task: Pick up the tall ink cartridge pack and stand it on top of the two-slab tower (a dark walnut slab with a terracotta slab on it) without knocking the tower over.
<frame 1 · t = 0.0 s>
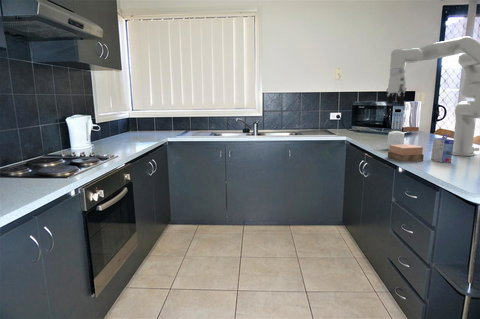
hand: (394, 103, 177), 31 cm above the table, tool pointing down, fingers open, 9 cm apart
tower top: (405, 153, 177), point 3 cm above the table, touching tower base
ink cartridge box: (440, 161, 171), on the table
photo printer: (394, 149, 210), on the table
tower base: (404, 159, 178), on the table, touching tower top
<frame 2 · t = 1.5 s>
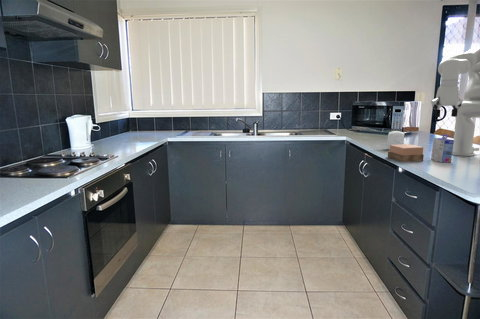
hand: (445, 116, 166), 24 cm above the table, tool pointing down, fingers open, 9 cm apart
nothing on the table moved.
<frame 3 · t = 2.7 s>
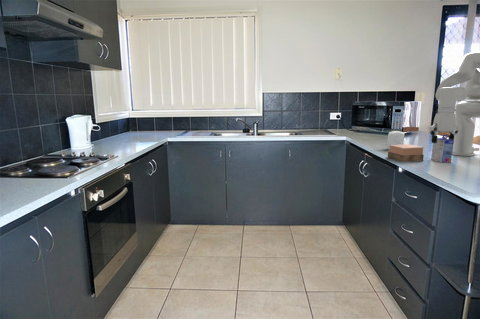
hand: (442, 142, 168), 10 cm above the table, tool pointing down, fingers open, 9 cm apart
nothing on the table moved.
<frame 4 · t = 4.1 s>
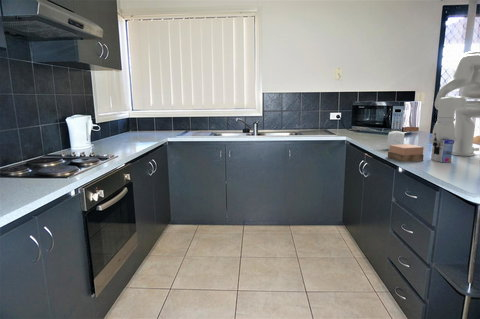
hand: (441, 153, 170), 4 cm above the table, tool pointing down, fingers closed on ink cartridge box, 5 cm apart
ink cartridge box: (440, 161, 171), on the table, touching gripper
everything else where it was.
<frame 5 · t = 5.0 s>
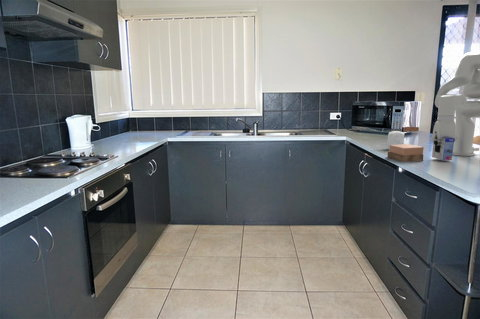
hand: (442, 151, 170), 5 cm above the table, tool pointing down, fingers closed on ink cartridge box, 5 cm apart
tower top: (405, 153, 177), point 3 cm above the table
ink cartridge box: (441, 159, 171), point 1 cm above the table, touching gripper
tower base: (404, 159, 178), on the table
everything else where it was.
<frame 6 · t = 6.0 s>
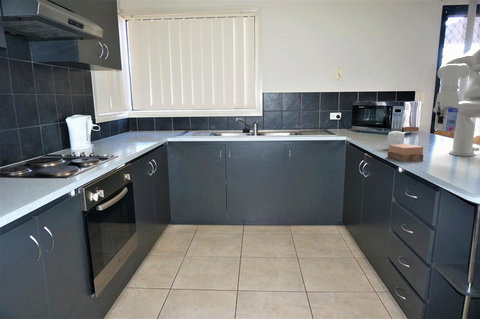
hand: (445, 123, 167), 21 cm above the table, tool pointing down, fingers closed on ink cartridge box, 5 cm apart
ink cartridge box: (444, 130, 168), point 16 cm above the table, touching gripper
everything else where it was.
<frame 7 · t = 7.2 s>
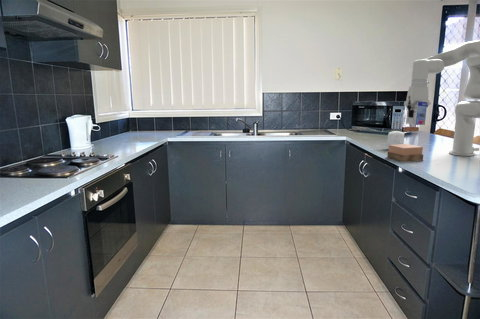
hand: (415, 117, 171), 24 cm above the table, tool pointing down, fingers closed on ink cartridge box, 5 cm apart
ink cartridge box: (415, 124, 172), point 20 cm above the table, touching gripper
everything else where it was.
when the fingers open (13 cm above the table, at t = 9.3 s): ink cartridge box drops 1 cm, resting on tower top.
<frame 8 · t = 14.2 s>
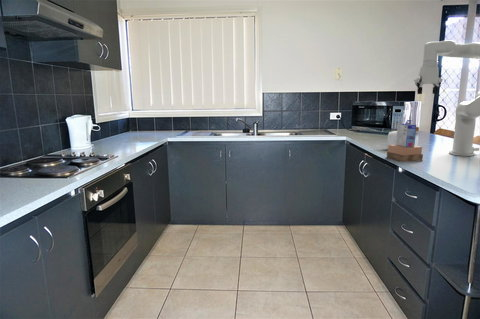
hand: (427, 93, 187), 36 cm above the table, tool pointing down, fingers open, 9 cm apart
tower top: (404, 152, 177), point 4 cm above the table, touching ink cartridge box, tower base
ink cartridge box: (405, 146, 176), point 7 cm above the table, touching tower top
tower base: (403, 159, 178), on the table, touching tower top
everything else where it was.
at the end: ink cartridge box 0.1 cm off-centre on the tower top, point 3.9 cm above the tower top's base; ink cartridge box tilted 2°; tower top 0.2 cm off-centre on the tower base, point 4.0 cm above the tower base's base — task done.
